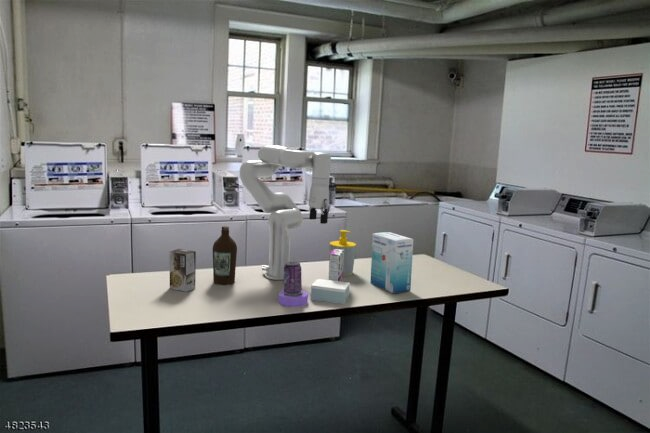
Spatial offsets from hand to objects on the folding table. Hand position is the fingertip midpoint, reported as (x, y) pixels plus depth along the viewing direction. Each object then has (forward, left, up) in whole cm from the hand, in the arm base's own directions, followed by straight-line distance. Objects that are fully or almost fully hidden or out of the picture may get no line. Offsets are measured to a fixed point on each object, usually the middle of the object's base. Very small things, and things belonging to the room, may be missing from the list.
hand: (318, 221), depth 220 cm
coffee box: (-47, -32, -30) cm, 64 cm away
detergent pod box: (+11, -9, -30) cm, 33 cm away
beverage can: (0, -21, -27) cm, 34 cm away
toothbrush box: (+28, +20, -30) cm, 46 cm away
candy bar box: (+7, +6, -30) cm, 32 cm away
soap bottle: (0, +30, -30) cm, 43 cm away
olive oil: (-38, -15, -30) cm, 51 cm away
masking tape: (0, -21, -31) cm, 37 cm away
